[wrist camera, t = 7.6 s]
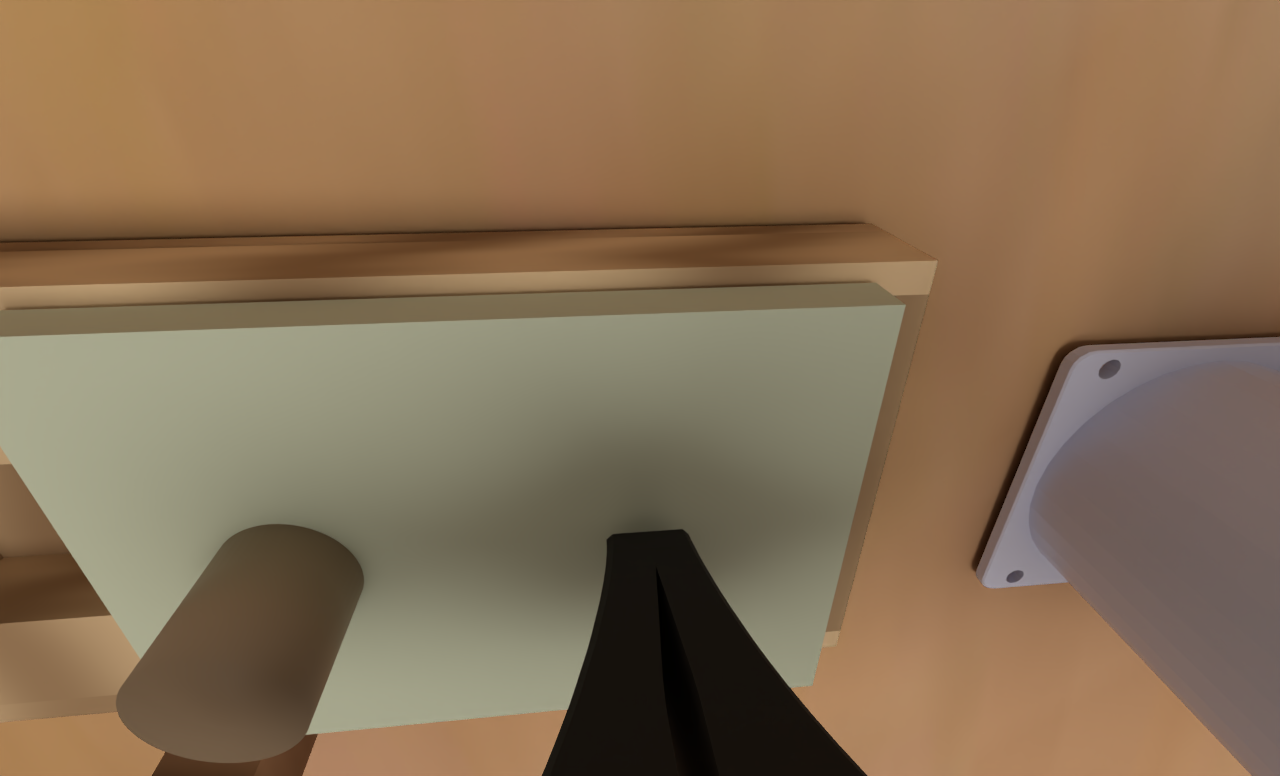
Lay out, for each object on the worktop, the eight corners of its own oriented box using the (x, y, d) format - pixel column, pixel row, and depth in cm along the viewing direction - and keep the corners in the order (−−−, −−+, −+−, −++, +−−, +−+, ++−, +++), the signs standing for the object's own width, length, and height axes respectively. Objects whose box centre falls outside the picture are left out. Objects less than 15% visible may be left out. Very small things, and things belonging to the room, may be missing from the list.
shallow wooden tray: (871, 223, 12) (938, 260, 10) (802, 571, 17) (836, 646, 15) (-200, 247, 10) (-406, 298, 8) (74, 627, 15) (-9, 723, 13)
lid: (876, 283, 10) (1014, 385, 7) (797, 647, 14) (858, 805, 11) (-6, 310, 8) (-325, 452, 5) (221, 700, 13) (117, 893, 10)
